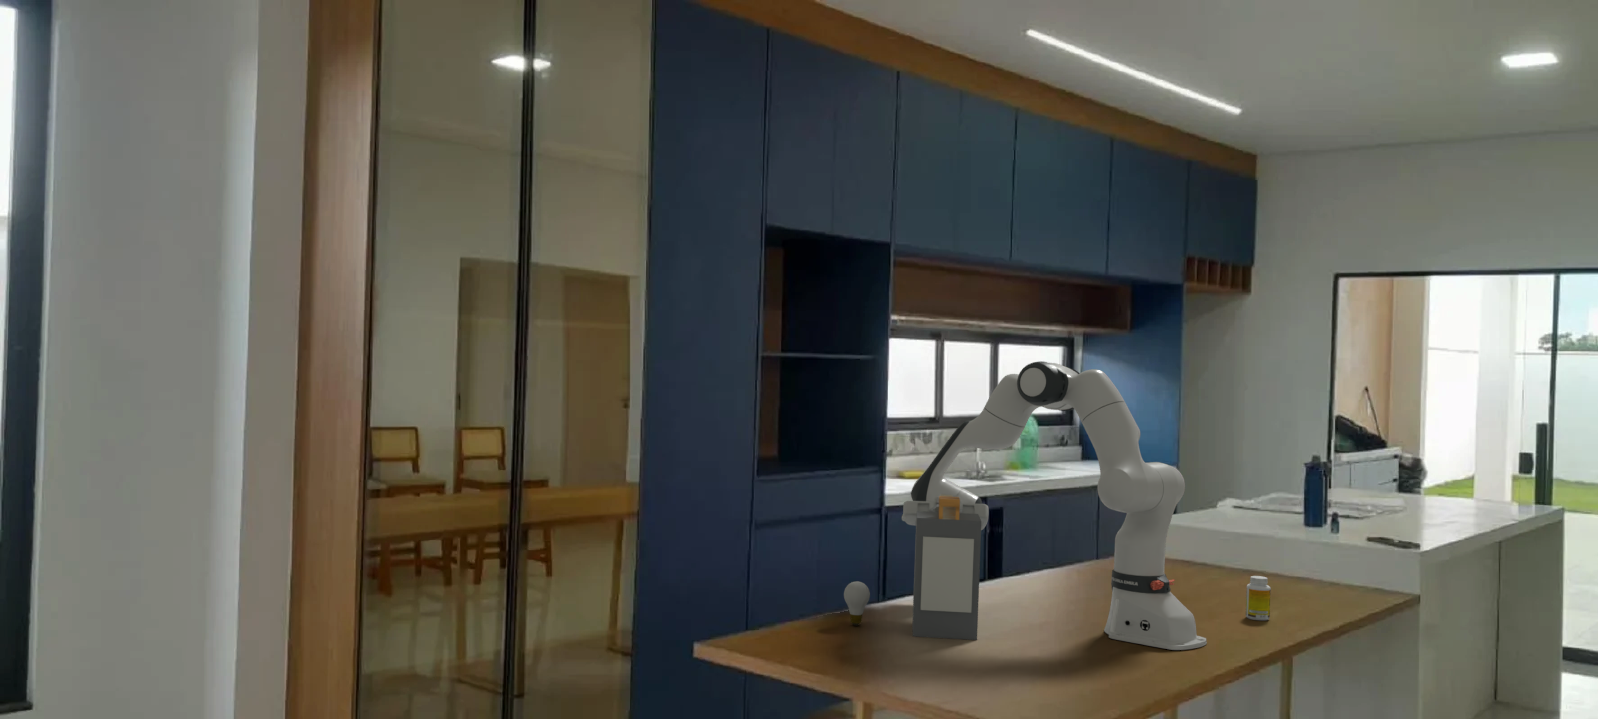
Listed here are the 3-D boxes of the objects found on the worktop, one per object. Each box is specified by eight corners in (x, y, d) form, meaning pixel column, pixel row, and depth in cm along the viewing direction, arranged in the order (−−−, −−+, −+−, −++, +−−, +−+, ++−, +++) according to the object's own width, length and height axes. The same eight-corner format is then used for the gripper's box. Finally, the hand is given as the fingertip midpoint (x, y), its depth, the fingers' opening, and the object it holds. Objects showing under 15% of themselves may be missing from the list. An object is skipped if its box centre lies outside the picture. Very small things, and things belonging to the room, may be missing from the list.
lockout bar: (936, 505, 285) (937, 487, 285) (955, 506, 284) (956, 488, 284) (938, 518, 263) (939, 498, 263) (959, 519, 263) (959, 499, 262)
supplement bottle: (1273, 621, 293) (1275, 579, 293) (1250, 620, 293) (1252, 579, 293) (1263, 616, 299) (1265, 575, 299) (1241, 615, 298) (1243, 574, 298)
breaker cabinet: (912, 624, 275) (916, 511, 275) (973, 627, 274) (978, 513, 274) (912, 636, 263) (917, 518, 263) (977, 640, 262) (981, 521, 262)
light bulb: (866, 629, 268) (868, 584, 268) (840, 627, 270) (842, 582, 270) (870, 623, 274) (872, 580, 274) (845, 621, 275) (846, 578, 275)
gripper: (901, 509, 295) (902, 486, 283) (985, 513, 293) (990, 490, 281) (900, 533, 292) (901, 511, 280) (985, 537, 290) (990, 515, 278)
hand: (946, 500), depth 280 cm, fingers closed on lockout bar, 3 cm apart
